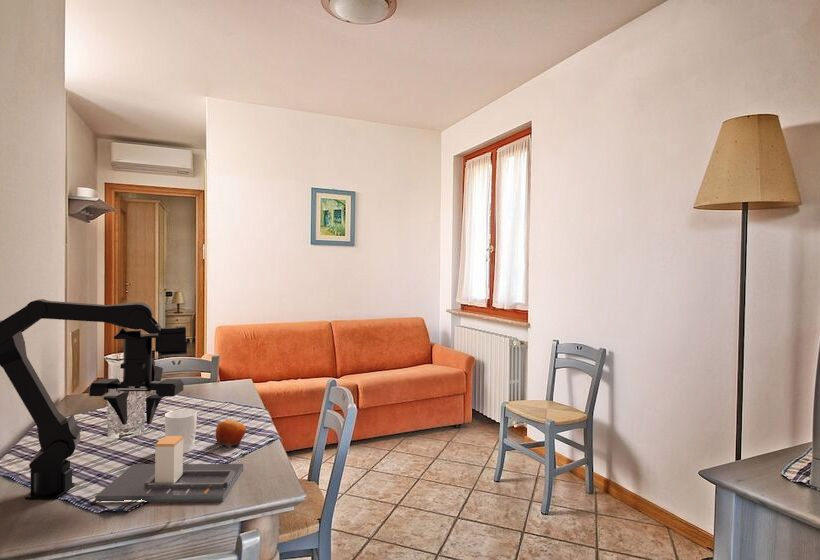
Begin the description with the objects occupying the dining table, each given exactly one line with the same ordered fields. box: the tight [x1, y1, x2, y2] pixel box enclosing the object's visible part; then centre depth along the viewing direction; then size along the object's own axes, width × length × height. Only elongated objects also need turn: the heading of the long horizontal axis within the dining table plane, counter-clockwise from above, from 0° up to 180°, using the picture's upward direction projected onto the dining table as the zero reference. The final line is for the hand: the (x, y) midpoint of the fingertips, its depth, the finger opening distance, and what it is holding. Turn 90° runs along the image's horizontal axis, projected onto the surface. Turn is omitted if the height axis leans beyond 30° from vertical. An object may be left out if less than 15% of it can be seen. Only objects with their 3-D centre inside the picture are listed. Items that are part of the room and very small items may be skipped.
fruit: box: [215, 419, 247, 450], centre depth 133 cm, size 8×8×8 cm
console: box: [94, 463, 244, 504], centre depth 108 cm, size 26×16×2 cm, turn 95°
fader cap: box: [154, 436, 184, 483], centre depth 107 cm, size 4×5×9 cm
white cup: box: [164, 408, 198, 455], centre depth 128 cm, size 8×8×10 cm
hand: (137, 424), depth 110 cm, fingers open, 5 cm apart
